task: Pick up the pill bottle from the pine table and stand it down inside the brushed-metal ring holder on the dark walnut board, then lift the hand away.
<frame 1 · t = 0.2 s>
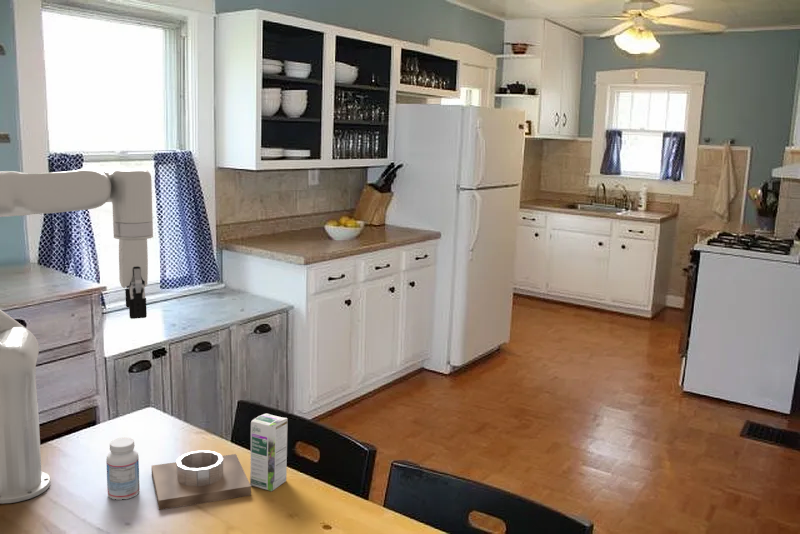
hand: (136, 312, 150), 36 cm above the table, tool pointing down, fingers open, 9 cm apart
pill bottle: (123, 494, 147), on the table
syrup box: (268, 484, 154), on the table
holder board: (200, 484, 152), on the table
bottle ring: (199, 467, 152), on the holder board, point 4 cm above the table
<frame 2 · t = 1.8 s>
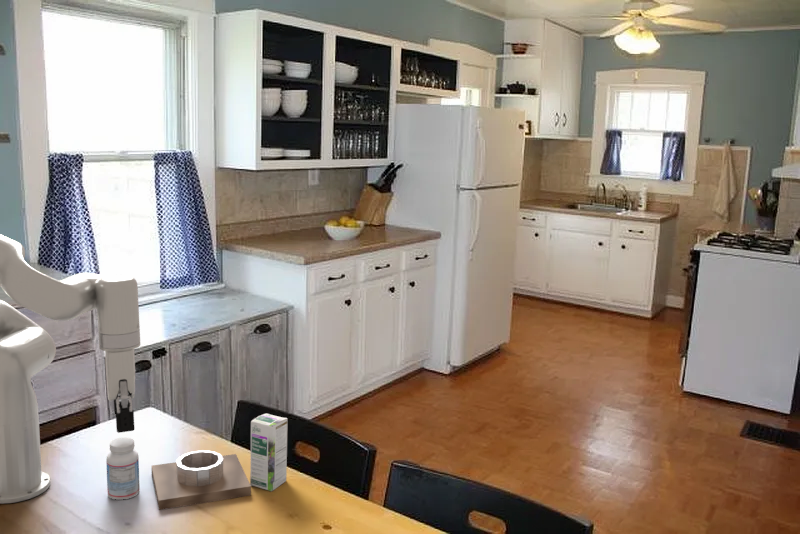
hand: (124, 422, 144), 15 cm above the table, tool pointing down, fingers open, 9 cm apart
nothing on the table moved.
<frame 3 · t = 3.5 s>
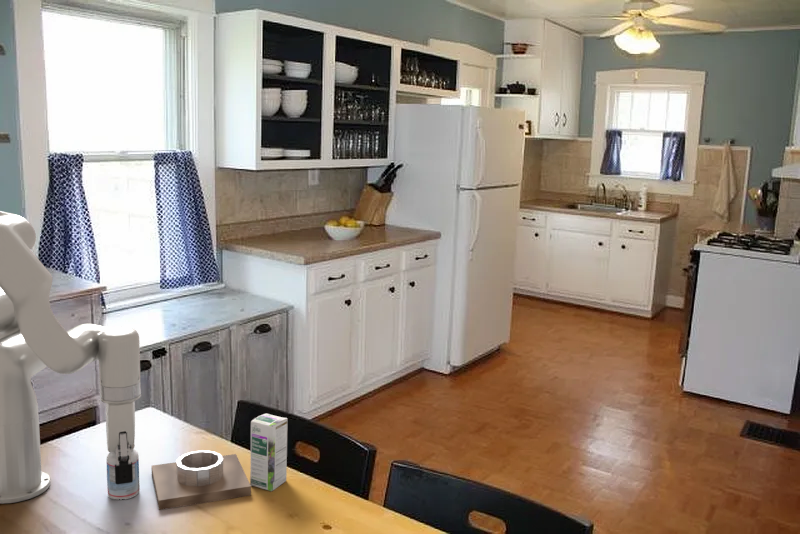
hand: (123, 474, 146), 4 cm above the table, tool pointing down, fingers closed on pill bottle, 6 cm apart
pill bottle: (123, 494, 147), on the table, touching gripper
everything else where it was.
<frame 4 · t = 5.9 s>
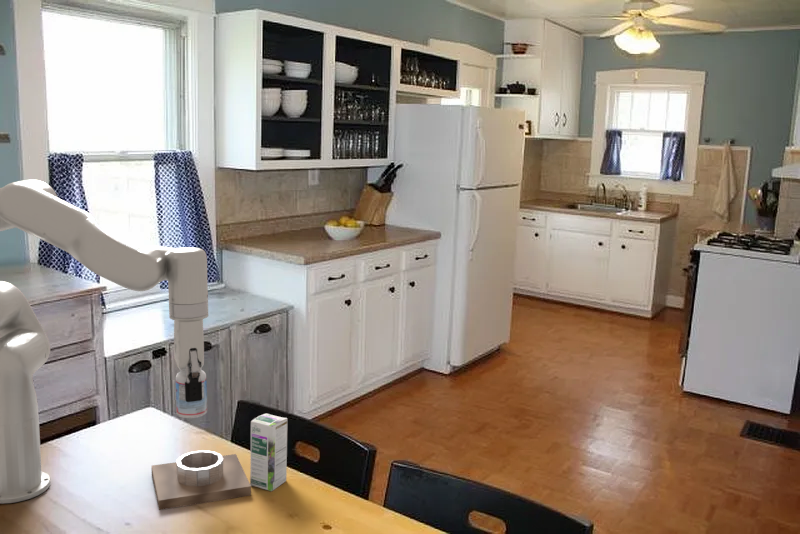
hand: (191, 394, 148), 20 cm above the table, tool pointing down, fingers closed on pill bottle, 6 cm apart
pill bottle: (192, 414, 149), point 16 cm above the table, touching gripper
everything else where it was.
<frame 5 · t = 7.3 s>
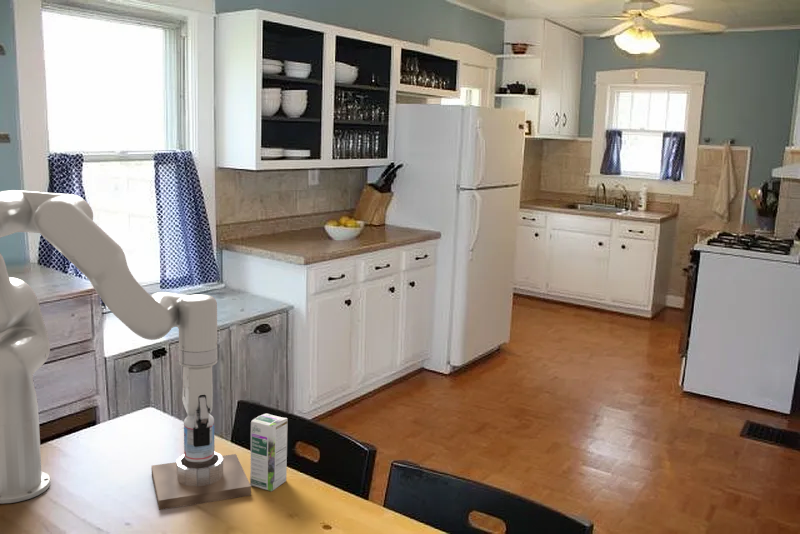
hand: (199, 438, 150), 10 cm above the table, tool pointing down, fingers closed on pill bottle, 6 cm apart
pill bottle: (199, 458, 151), point 6 cm above the table, touching gripper
everything else where it was.
when the fingers open (7 cm above the table, at t = 8.4 s): pill bottle stays where it is, resting on holder board.
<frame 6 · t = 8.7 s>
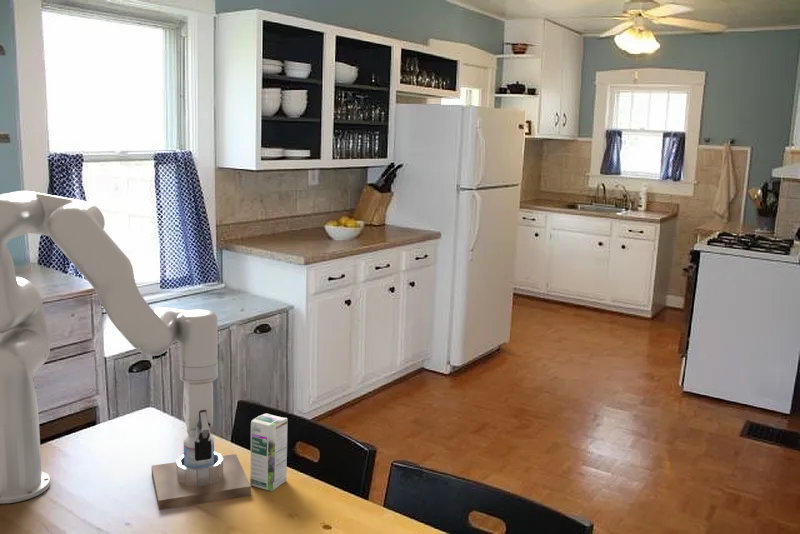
hand: (199, 449, 151), 8 cm above the table, tool pointing down, fingers open, 8 cm apart
pill bottle: (199, 476, 152), point 2 cm above the table, touching holder board
everything else where it was.
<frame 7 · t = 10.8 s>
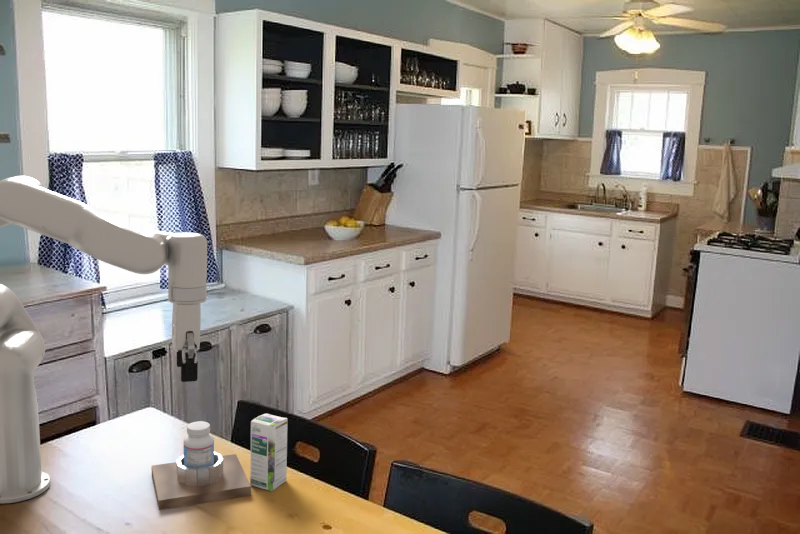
hand: (186, 373, 151), 23 cm above the table, tool pointing down, fingers open, 9 cm apart
nothing on the table moved.
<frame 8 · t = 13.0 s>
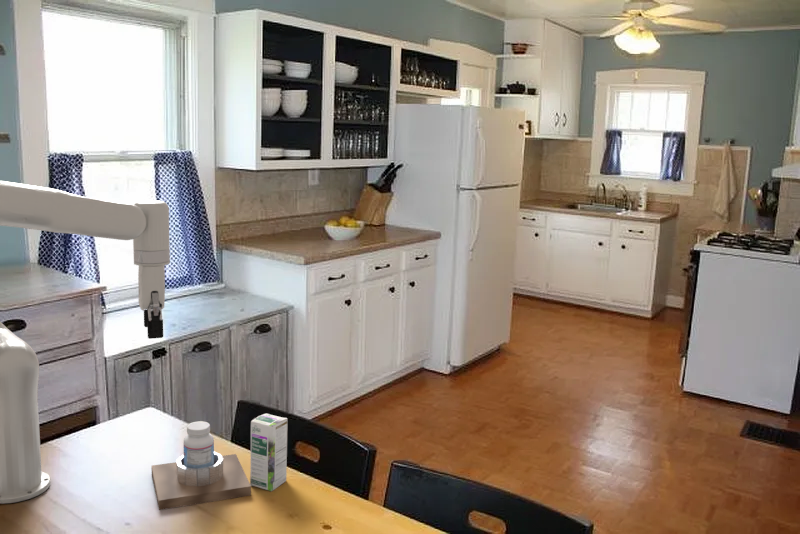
hand: (153, 332, 162), 28 cm above the table, tool pointing down, fingers open, 9 cm apart
nothing on the table moved.
at the end: pill bottle 0.2 cm off-centre on the bottle ring, point 1.8 cm above the bottle ring's base; pill bottle tilted 0°; the gripper is holding nothing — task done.
